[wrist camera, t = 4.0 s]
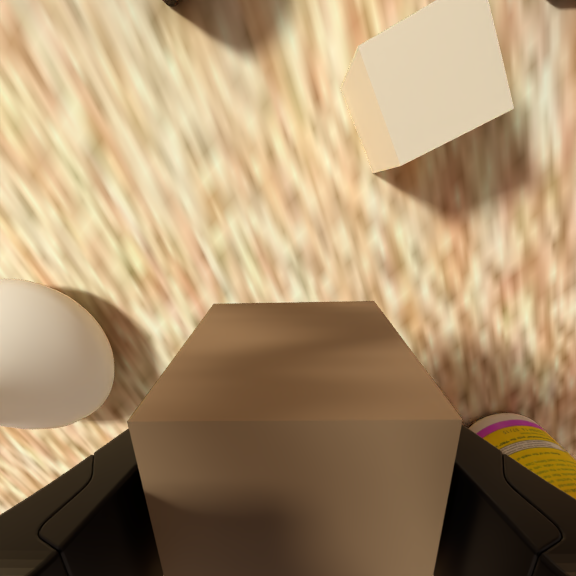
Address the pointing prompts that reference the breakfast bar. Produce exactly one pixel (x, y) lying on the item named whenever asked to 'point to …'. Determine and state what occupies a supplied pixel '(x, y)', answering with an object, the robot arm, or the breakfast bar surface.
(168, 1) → the brick
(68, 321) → the flower in vase
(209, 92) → the breakfast bar surface
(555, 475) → the supplement bottle
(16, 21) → the breakfast bar surface
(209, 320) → the walnut cube
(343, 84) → the cream cube
